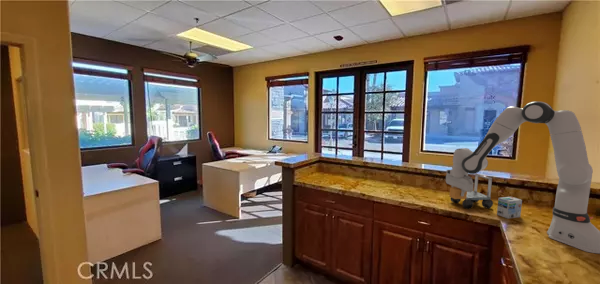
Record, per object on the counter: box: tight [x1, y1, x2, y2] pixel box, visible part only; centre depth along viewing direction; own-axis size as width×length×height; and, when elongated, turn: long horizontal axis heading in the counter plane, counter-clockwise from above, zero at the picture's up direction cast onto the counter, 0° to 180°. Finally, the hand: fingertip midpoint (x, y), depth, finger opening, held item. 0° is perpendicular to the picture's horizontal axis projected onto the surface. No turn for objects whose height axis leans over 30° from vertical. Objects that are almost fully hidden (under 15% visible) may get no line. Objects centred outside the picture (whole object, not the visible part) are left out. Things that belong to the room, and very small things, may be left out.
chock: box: [449, 187, 467, 200], centre depth 167 cm, size 5×8×6 cm, turn 97°
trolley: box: [450, 173, 494, 210], centre depth 174 cm, size 13×20×20 cm, turn 97°
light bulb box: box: [496, 196, 523, 219], centre depth 157 cm, size 11×7×11 cm, turn 105°
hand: (458, 194), depth 167 cm, fingers closed on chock, 5 cm apart
